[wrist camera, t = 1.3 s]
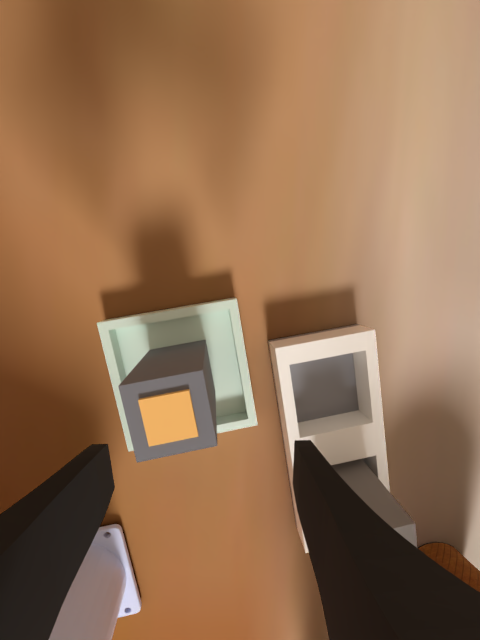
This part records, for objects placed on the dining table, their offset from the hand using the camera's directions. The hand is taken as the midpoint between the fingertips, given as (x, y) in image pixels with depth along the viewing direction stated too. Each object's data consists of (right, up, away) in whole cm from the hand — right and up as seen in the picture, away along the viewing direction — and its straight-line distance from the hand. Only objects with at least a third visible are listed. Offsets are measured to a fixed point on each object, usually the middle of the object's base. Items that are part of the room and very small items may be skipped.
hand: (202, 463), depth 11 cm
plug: (-3, +2, +10) cm, 10 cm away
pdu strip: (+8, -3, +12) cm, 15 cm away
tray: (-3, +2, +10) cm, 11 cm away
